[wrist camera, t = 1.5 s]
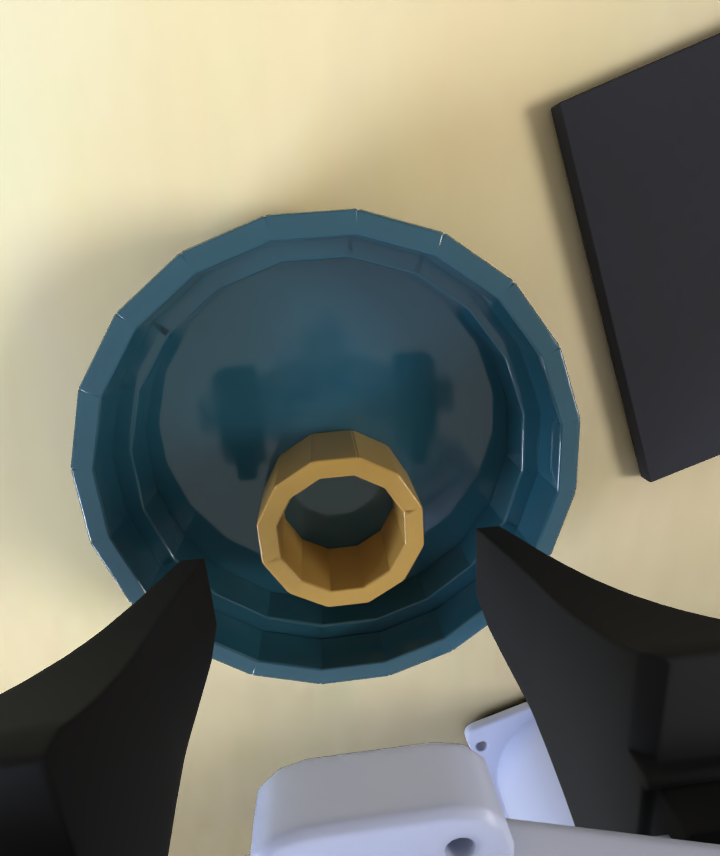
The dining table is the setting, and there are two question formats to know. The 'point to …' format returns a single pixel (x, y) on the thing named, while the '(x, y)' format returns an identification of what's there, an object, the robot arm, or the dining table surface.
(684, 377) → the coaster
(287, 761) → the dining table surface
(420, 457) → the bowl
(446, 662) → the dining table surface
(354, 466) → the napkin ring
